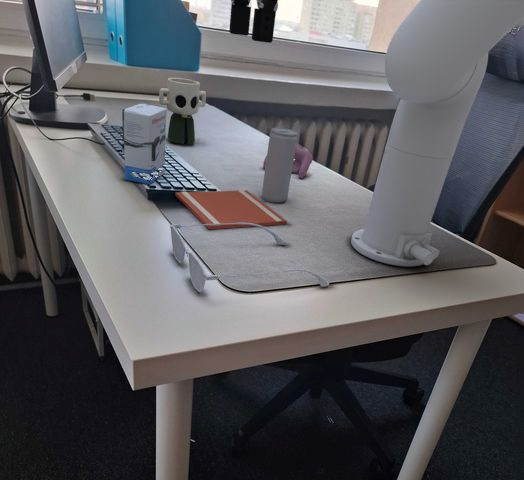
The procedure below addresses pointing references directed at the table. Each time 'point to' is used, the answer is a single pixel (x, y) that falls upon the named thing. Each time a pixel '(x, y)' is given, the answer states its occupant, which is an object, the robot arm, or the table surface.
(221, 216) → the towel
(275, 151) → the beverage can
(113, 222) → the table surface
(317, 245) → the table surface
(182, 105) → the character mug
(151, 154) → the ink box
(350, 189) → the table surface
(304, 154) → the video game controller
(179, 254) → the eyeglasses
